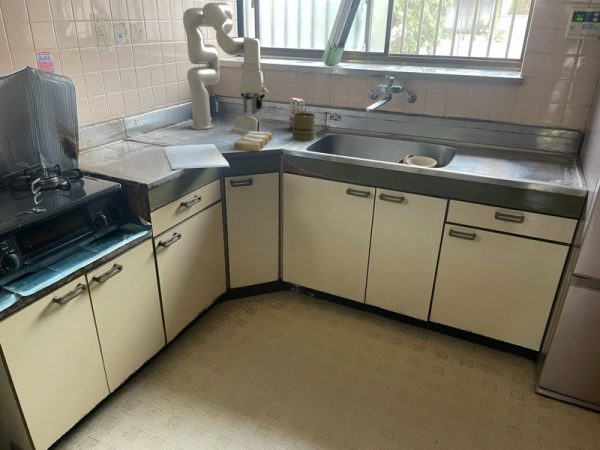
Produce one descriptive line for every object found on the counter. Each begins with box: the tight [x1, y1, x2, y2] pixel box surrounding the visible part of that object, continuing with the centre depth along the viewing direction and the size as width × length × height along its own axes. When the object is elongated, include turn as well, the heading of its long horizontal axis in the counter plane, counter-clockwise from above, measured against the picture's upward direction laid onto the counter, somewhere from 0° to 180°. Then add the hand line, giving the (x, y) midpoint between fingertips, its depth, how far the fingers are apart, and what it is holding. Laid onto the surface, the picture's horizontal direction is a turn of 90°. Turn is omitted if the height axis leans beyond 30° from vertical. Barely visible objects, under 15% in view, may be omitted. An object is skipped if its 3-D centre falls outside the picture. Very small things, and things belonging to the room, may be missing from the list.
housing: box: [242, 92, 264, 115], centre depth 209 cm, size 5×14×8 cm, turn 168°
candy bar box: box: [289, 97, 307, 130], centre depth 242 cm, size 11×5×16 cm, turn 25°
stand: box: [233, 131, 274, 152], centre depth 216 cm, size 24×12×3 cm, turn 168°
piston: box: [291, 112, 316, 142], centre depth 226 cm, size 11×12×11 cm
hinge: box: [230, 114, 262, 135], centre depth 236 cm, size 17×5×10 cm, turn 52°
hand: (253, 107), depth 210 cm, fingers closed on housing, 5 cm apart
